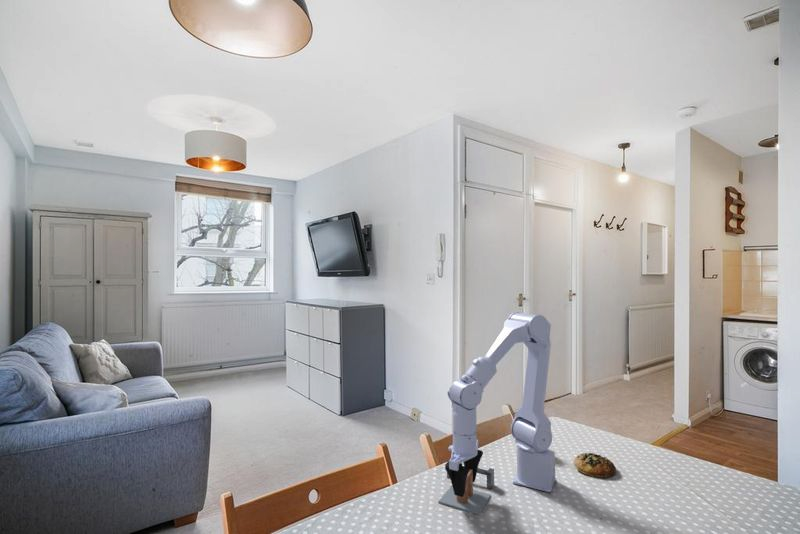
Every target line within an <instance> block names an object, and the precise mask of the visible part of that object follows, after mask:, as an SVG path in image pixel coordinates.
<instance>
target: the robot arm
mask: <svg viewBox="0 0 800 534" xmlns="http://www.w3.org/2000/svg"><path fill="white" fill-rule="evenodd" d="M551 327H552V324H551V323H550V322H549V320H548V319H547V318H546V317H545V316H543V315H541V314H531V313H524V312H523V313H522V312H519V311H515V312H512V313H511V314H510V315H509V316H508V318H507V319H505V321H504V323H503V329H502V330H501V332H500V333H499V335H498V336H497V338H496V339H495V340H494V342H493V344H492V345H491V346H490V348H489V350H488V351H487V353H486V354H485V355H483V356H478V357H477V358H474V359H473V361H471V362H472V364H471V365H470V366H469V368H468V369H467V370H466V372H465V373H463V374H462V376H461V377H460V379H458V380H455V381H454V382H452V383H451V385H450V387H449V389H448V390H449V391H447V397H448V399H449V401H451V408H452V444H451V445H449V446H448V451H449V452H451V456H450V458H449V460H448V461H449V462H448V461H447V462H446V463H445V464H444V468H445V471H446V474H447V473H448V475H449V477H450V478H449V479H450V481H451V486H453V491H454V494H455V495H457V496H460V497H463V496H464V492H465V484H466V479H467V475H468V473H469V471H470V469H471V470H473V483H475V482H476V478H477V474H478V473H477V469H478V468H479V464H480V461H481V459H482V457H483V454H484V451H483V450H480V449H479V446H480V444H479V439H477V435H478V434H477V407H478V405H480V404H481V402H482V398H483V393H484V391H485V390H484V389H485V388H486V386H487V385H488V384H489V383H490V381H491V380H492V379H493V378H494V376H495V375H496V374H497V365H498V364H499V362H500V361H501V360H502V359H503V358H504V357H505V356H506V355H507V354H508V352H510V350H511V349H512V348H513V347H514V346H515V345H516V344H519V343H523V344H524V345H525V346H526V347H527V349H528V352H527V359H526V361H527V362H526V369H525V377H524V387H523V396H522V397H523V398H522V403H521V404H522V406H521V407H520V408H519V409H517V410H516V411H515V412H514V418H513V420H512V421H511V425H510V434H511V436H512V437H513V439H514V440H515V441H514V443H515V444H516V474H515V476H514V478H513V480H512V484H515V485H519V486H523V487H527V488H530V489H533V490H539V491H543V492H546V493H551V492H552V489H553V488H554V484H555V482H556V480H557V479H556V455H555V451H554V450H552V449H549V448H550V446H551V445H552V442H553V433H552V422H551V420H550V419H549V417H548V416H547V414H546V413H545V411H544V410H545V404H546V403H545V401H546V394H547V393H546V391H547V384H548V382H547V381H548V373H549V365H550V355H551V347H552V346H551V339H550V336H551ZM462 464H463V465H464V467H463V466H462Z"/></svg>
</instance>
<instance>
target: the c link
mask: <svg viewBox="0 0 800 534" xmlns="http://www.w3.org/2000/svg"><path fill="white" fill-rule="evenodd" d="M473 483H474V482H473V470H471V469H470V471H469V473H468V475H467V479H466V484H465V492H464V496H463V497H460V496H457V501H458V502H462V503H465V504H466V503H467V502H468V496H470V497H471V496H472V495H473V490H474V486H473V485H474V484H473Z"/></svg>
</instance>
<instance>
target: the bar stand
mask: <svg viewBox="0 0 800 534" xmlns="http://www.w3.org/2000/svg"><path fill="white" fill-rule="evenodd" d="M447 462H449V460H447ZM462 466H463V467H464V463H462ZM477 474H479V475H484V476H486V489H489V490H492V489H493V487H494V485H495V469H494V468H488V469H487V470H486V469H483V468H479V467H478V469H477ZM446 478H449V479H450V477H449V475H448V473H447V472H446Z"/></svg>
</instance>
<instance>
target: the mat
mask: <svg viewBox="0 0 800 534" xmlns="http://www.w3.org/2000/svg"><path fill="white" fill-rule="evenodd" d="M491 496H492V494H490V493H486V492H483V491H479V490H475V489H473V495H472V496H471V497H470V496H468V502H467V503H466V504H465V503H462V502H458V501H457V495H455V494H454V491H453V486H452V485H451V486H450V487H449V488H448V489H447V490H446V492H445V493H444V494H443V495H442V496H441V498H440V499H439V500H438V504H440V505H445V506H447V507H451V508H453V509H457V510H460V511H464V512H466V513H467V512H468V513H470V514H474V515H477V516H479V515H480V514H481V512H482V510H483V509H484V507H485V506H486V504H487V503H488V501H489V499H490V498H491Z"/></svg>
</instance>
